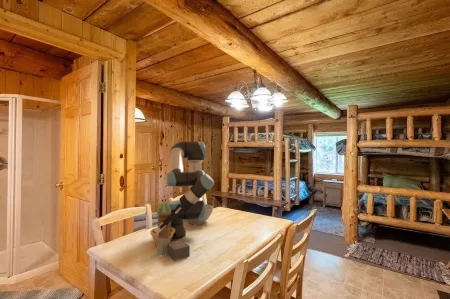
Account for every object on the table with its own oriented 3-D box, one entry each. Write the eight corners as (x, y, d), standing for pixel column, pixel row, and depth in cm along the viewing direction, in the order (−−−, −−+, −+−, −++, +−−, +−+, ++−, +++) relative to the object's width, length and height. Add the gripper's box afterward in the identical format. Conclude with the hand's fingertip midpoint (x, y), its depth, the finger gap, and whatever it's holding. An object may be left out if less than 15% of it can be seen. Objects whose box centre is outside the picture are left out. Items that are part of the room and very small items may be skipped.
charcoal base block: (167, 254, 131) (167, 244, 131) (182, 250, 136) (182, 240, 136) (174, 261, 124) (174, 249, 124) (189, 256, 129) (189, 245, 129)
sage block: (156, 253, 132) (157, 235, 132) (164, 250, 136) (164, 233, 136) (162, 256, 129) (162, 237, 129) (169, 253, 133) (169, 235, 133)
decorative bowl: (176, 219, 196) (176, 205, 196) (206, 216, 207) (206, 202, 207) (184, 229, 172) (184, 213, 172) (218, 225, 183) (218, 209, 183)
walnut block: (161, 234, 124) (161, 212, 124) (170, 234, 124) (171, 212, 124) (158, 238, 119) (158, 214, 119) (168, 238, 119) (168, 214, 119)
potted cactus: (179, 240, 152) (180, 201, 152) (167, 249, 137) (168, 207, 137) (158, 237, 156) (158, 200, 156) (144, 246, 141) (145, 205, 141)
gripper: (191, 208, 112) (157, 242, 113) (197, 200, 130) (167, 229, 131) (180, 197, 112) (146, 231, 113) (187, 190, 130) (158, 219, 131)
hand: (157, 230), depth 122 cm, fingers closed on walnut block, 5 cm apart
